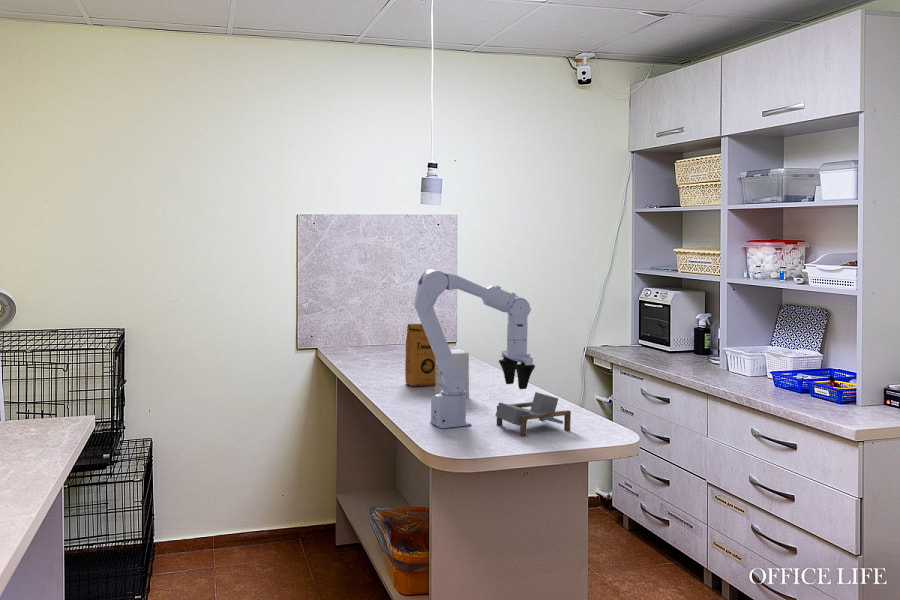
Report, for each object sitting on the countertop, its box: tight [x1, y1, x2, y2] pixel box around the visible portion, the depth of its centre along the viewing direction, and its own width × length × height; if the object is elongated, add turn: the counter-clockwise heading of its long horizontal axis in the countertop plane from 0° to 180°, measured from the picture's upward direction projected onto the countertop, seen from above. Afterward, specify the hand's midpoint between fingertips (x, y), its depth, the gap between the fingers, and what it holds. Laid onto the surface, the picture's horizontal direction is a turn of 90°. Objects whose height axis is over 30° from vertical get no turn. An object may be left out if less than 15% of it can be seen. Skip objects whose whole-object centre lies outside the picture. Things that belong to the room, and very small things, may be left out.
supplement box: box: [435, 348, 470, 399], centre depth 261 cm, size 9×9×15 cm
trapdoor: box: [495, 401, 564, 427], centre depth 219 cm, size 15×11×4 cm
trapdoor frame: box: [496, 401, 572, 438], centre depth 220 cm, size 15×14×6 cm
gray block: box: [529, 391, 559, 418], centre depth 221 cm, size 5×4×6 cm
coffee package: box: [404, 323, 436, 387], centre depth 279 cm, size 10×12×22 cm
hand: (516, 386), depth 226 cm, fingers open, 7 cm apart
